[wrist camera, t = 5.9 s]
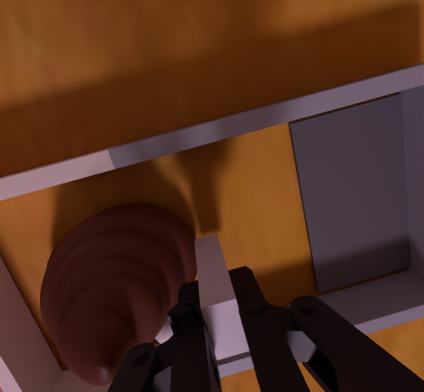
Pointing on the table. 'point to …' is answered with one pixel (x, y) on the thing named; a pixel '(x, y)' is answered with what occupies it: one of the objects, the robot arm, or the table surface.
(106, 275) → the poop emoji
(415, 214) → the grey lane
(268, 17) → the table surface
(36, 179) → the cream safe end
